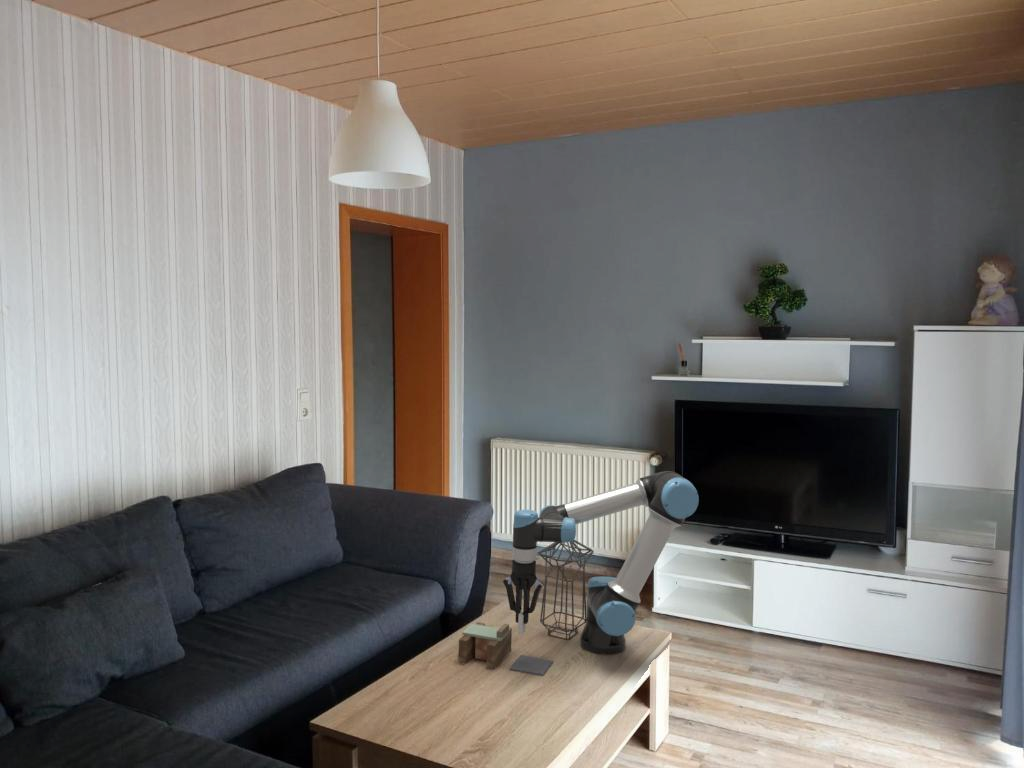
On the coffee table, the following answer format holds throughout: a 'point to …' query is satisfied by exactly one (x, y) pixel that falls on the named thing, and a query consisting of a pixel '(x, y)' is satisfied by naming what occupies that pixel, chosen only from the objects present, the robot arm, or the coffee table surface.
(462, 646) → the brown parallel walls
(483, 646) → the block
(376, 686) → the coffee table surface
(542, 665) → the mat
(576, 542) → the geometric lantern
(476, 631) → the cover
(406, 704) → the coffee table surface
